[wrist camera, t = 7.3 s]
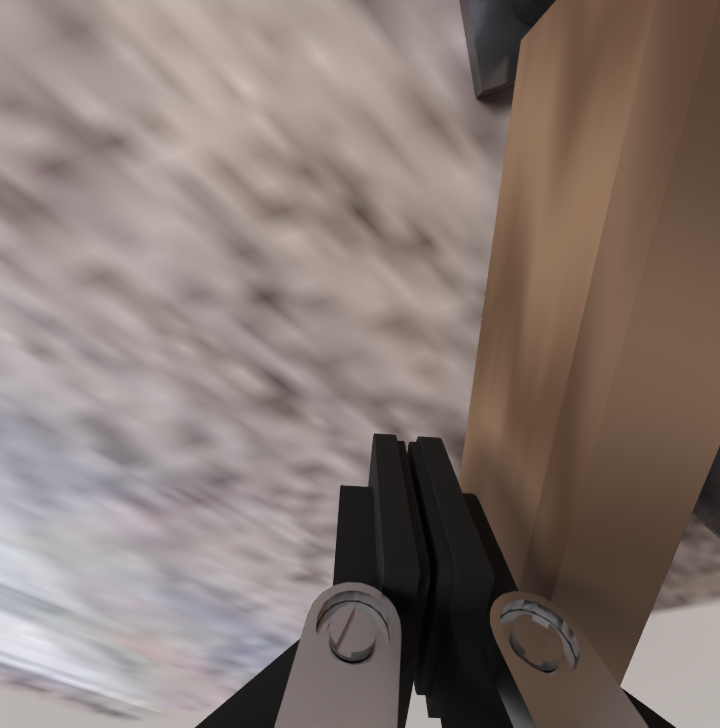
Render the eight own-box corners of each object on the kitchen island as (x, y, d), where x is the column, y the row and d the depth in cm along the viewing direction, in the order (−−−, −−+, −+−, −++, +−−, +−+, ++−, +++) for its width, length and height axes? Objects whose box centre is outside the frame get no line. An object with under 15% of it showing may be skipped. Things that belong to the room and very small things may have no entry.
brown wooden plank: (508, 40, 9) (812, -339, 3) (583, 42, 9) (1043, -334, 3) (440, 565, 15) (494, 802, 9) (485, 566, 15) (571, 804, 9)
